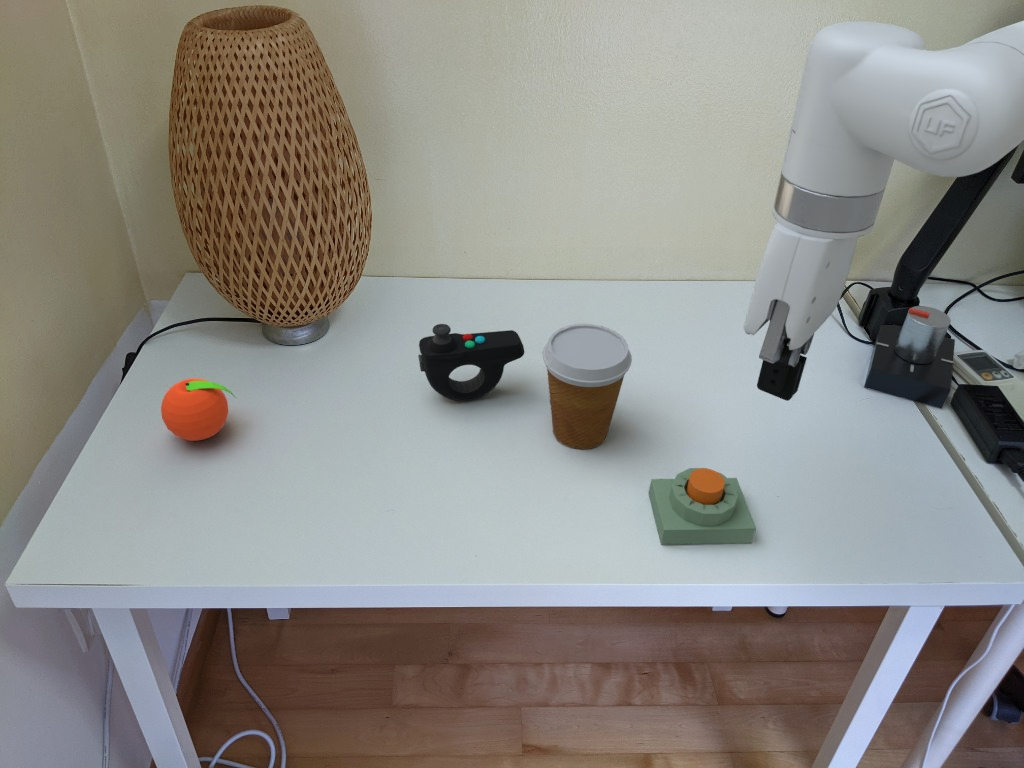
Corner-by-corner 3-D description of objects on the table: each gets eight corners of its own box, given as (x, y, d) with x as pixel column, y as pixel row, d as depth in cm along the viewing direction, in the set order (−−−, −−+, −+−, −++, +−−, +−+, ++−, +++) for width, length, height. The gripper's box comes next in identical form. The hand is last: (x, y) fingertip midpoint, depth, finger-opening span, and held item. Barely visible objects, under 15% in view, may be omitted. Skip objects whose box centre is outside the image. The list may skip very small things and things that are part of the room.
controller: (419, 389, 95) (415, 320, 89) (518, 378, 97) (520, 310, 91) (423, 411, 92) (419, 341, 86) (525, 399, 94) (528, 330, 88)
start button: (716, 480, 78) (720, 467, 77) (725, 505, 75) (728, 492, 74) (683, 480, 78) (686, 468, 77) (691, 505, 75) (693, 492, 74)
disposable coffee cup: (522, 438, 88) (525, 351, 81) (565, 395, 94) (572, 312, 87) (595, 471, 84) (605, 383, 77) (635, 425, 90) (648, 339, 83)
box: (732, 492, 82) (740, 464, 79) (751, 543, 76) (760, 515, 74) (648, 493, 81) (653, 466, 79) (661, 545, 76) (666, 517, 73)
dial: (937, 349, 98) (953, 310, 95) (932, 368, 95) (949, 328, 91) (897, 338, 100) (911, 299, 97) (891, 356, 97) (906, 317, 93)
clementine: (245, 409, 91) (232, 360, 87) (242, 447, 86) (229, 397, 82) (173, 417, 90) (157, 368, 86) (166, 457, 84) (148, 407, 80)
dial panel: (941, 408, 94) (951, 388, 92) (863, 387, 97) (871, 367, 95) (946, 358, 102) (955, 338, 100) (874, 340, 105) (882, 320, 103)
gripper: (816, 161, 66) (771, 341, 77) (738, 219, 57) (699, 414, 68) (907, 183, 62) (846, 369, 73) (839, 249, 53) (781, 451, 64)
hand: (776, 390), depth 70 cm, fingers closed
